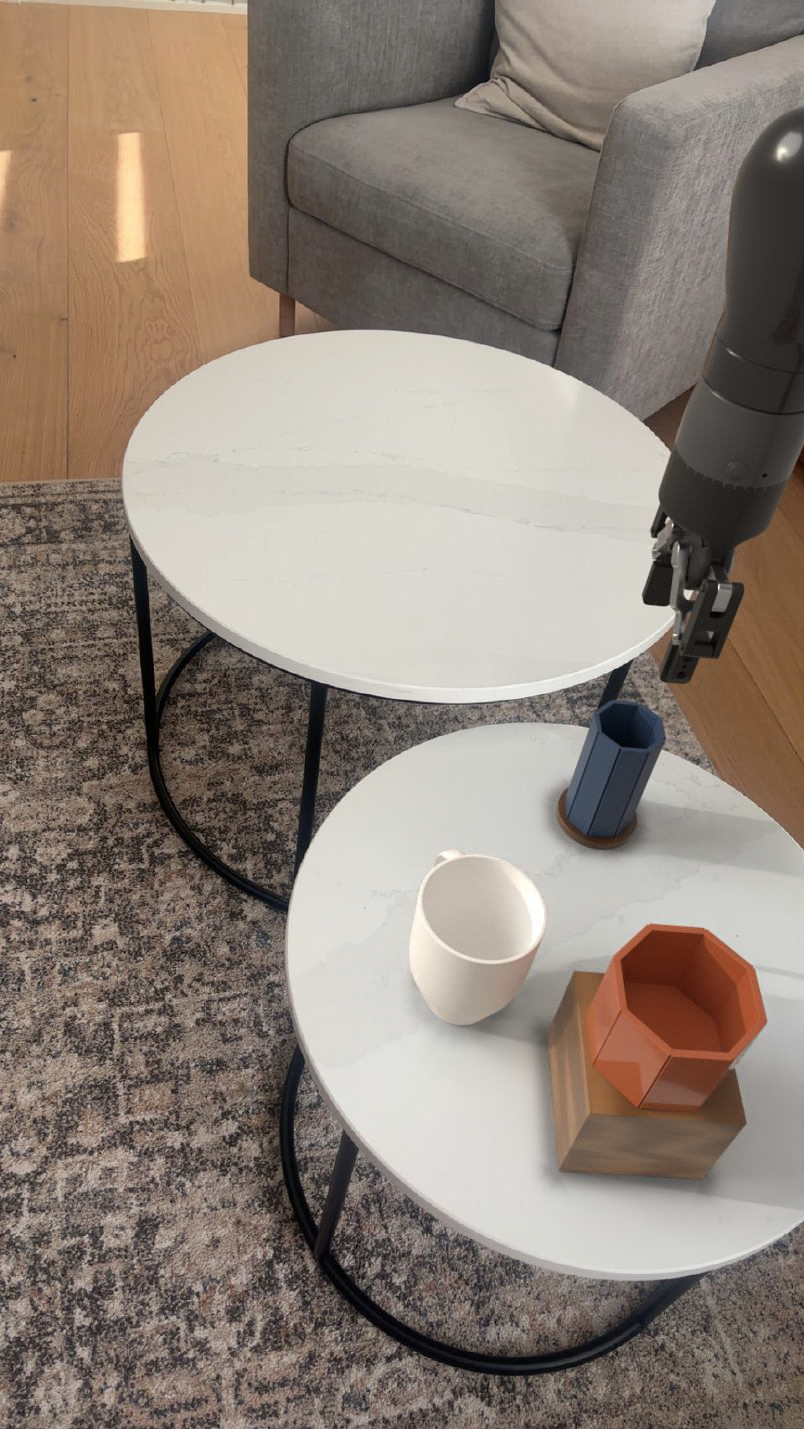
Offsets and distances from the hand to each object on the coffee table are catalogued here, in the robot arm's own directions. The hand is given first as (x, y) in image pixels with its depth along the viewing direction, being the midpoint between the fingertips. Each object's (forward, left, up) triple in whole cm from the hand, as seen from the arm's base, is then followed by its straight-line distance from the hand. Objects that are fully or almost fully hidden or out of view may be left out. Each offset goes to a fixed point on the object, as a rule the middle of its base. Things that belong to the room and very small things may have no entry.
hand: (663, 639), depth 80 cm
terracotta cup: (+1, +26, -12) cm, 29 cm away
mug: (+13, +17, -21) cm, 30 cm away
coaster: (0, 0, -21) cm, 21 cm away
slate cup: (0, 0, -20) cm, 20 cm away
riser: (+1, +26, -21) cm, 33 cm away
